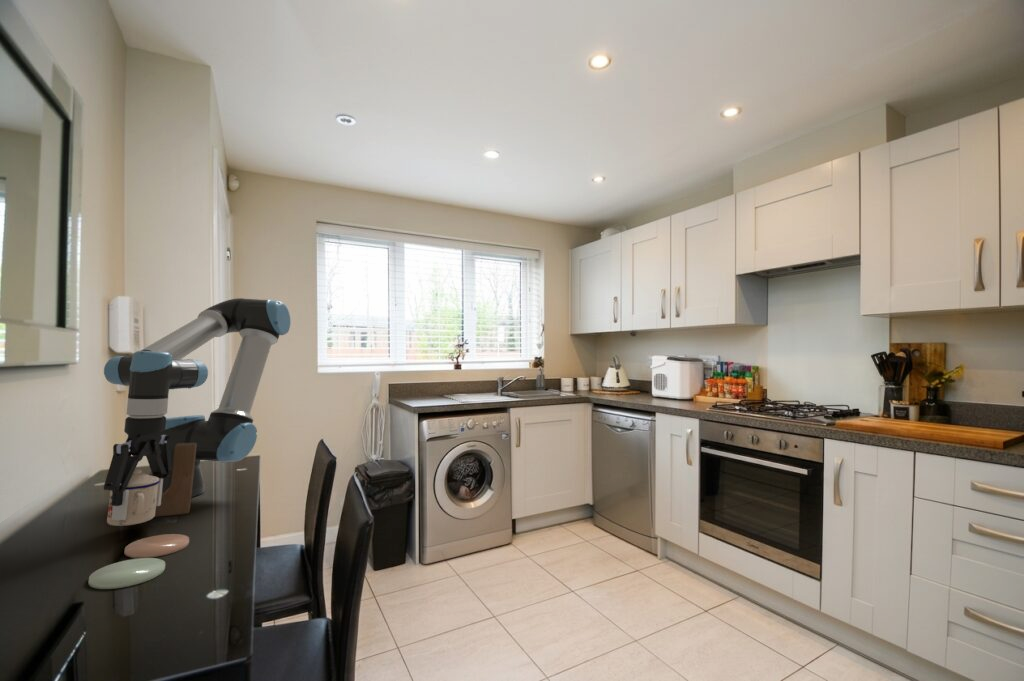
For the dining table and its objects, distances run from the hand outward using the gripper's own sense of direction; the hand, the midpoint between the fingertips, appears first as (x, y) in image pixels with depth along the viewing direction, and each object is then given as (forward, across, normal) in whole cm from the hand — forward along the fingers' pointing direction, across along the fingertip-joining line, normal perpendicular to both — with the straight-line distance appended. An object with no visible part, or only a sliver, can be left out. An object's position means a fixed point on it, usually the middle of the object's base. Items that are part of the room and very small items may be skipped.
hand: (137, 511), depth 104 cm
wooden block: (+5, -12, -2) cm, 14 cm away
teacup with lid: (+2, +1, 0) cm, 2 cm away
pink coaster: (+4, +8, +12) cm, 15 cm away
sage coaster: (+4, +20, +16) cm, 26 cm away
